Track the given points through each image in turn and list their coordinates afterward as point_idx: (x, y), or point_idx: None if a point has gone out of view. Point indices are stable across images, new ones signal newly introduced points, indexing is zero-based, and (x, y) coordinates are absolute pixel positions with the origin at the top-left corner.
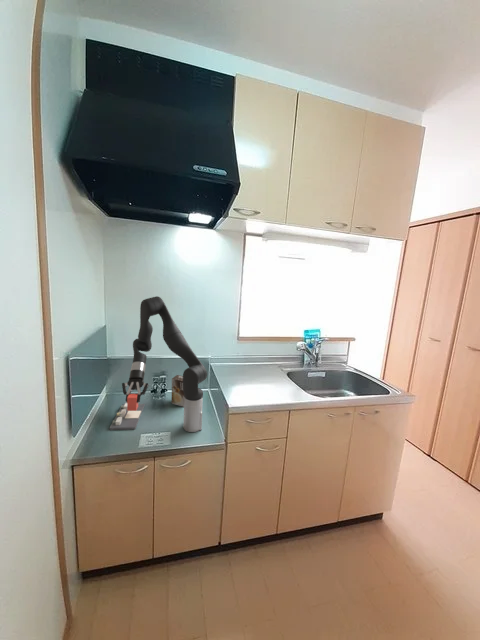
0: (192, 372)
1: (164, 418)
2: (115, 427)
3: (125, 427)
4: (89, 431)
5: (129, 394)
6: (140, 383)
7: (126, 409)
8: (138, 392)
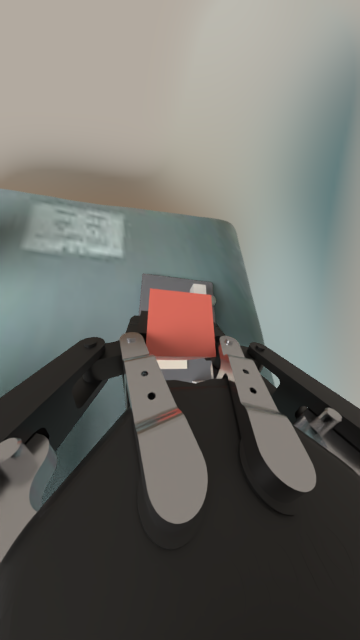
0: None
1: (34, 326)
2: (197, 281)
3: (171, 277)
4: (249, 287)
5: (211, 341)
6: (101, 501)
7: (196, 381)
8: (139, 343)
